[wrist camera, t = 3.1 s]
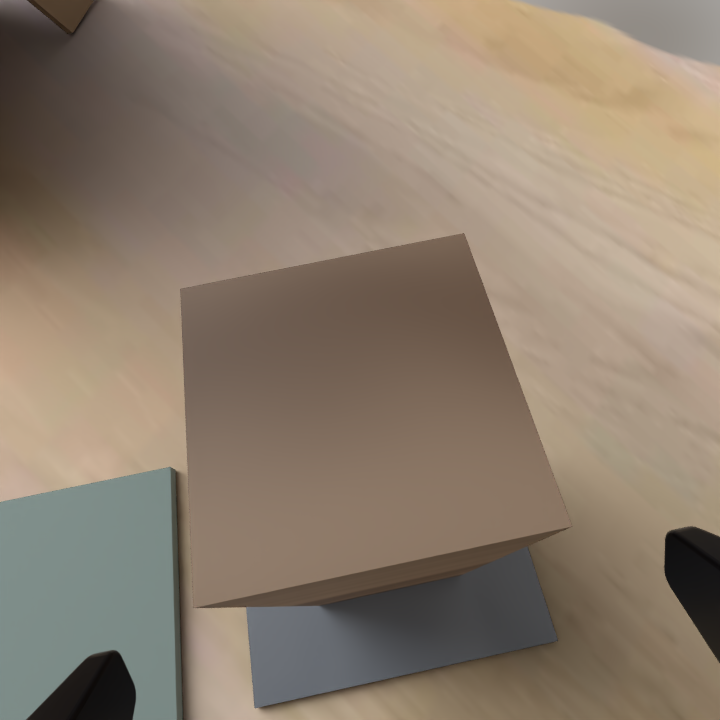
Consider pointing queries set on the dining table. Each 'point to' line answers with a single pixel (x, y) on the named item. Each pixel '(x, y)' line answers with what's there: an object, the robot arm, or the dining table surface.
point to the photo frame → (63, 11)
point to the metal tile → (397, 631)
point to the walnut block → (355, 430)
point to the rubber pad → (91, 590)
